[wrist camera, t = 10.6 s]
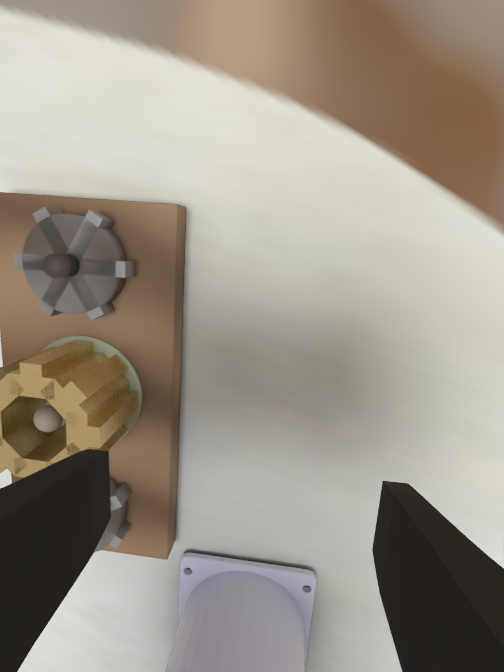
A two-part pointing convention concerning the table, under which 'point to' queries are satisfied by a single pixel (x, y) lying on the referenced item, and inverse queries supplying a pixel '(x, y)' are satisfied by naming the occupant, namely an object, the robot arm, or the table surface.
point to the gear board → (106, 333)
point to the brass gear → (62, 405)
